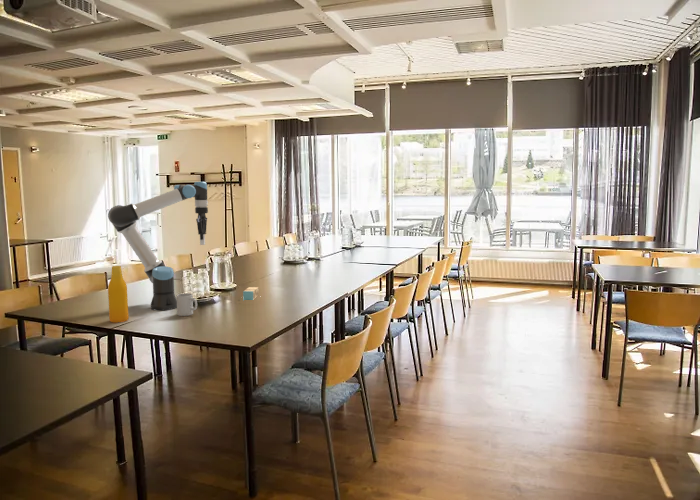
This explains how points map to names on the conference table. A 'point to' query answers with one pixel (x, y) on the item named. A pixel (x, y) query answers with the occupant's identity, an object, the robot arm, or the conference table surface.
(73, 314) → the conference table surface
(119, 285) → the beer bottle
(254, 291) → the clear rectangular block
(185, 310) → the mug
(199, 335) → the conference table surface
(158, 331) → the conference table surface
